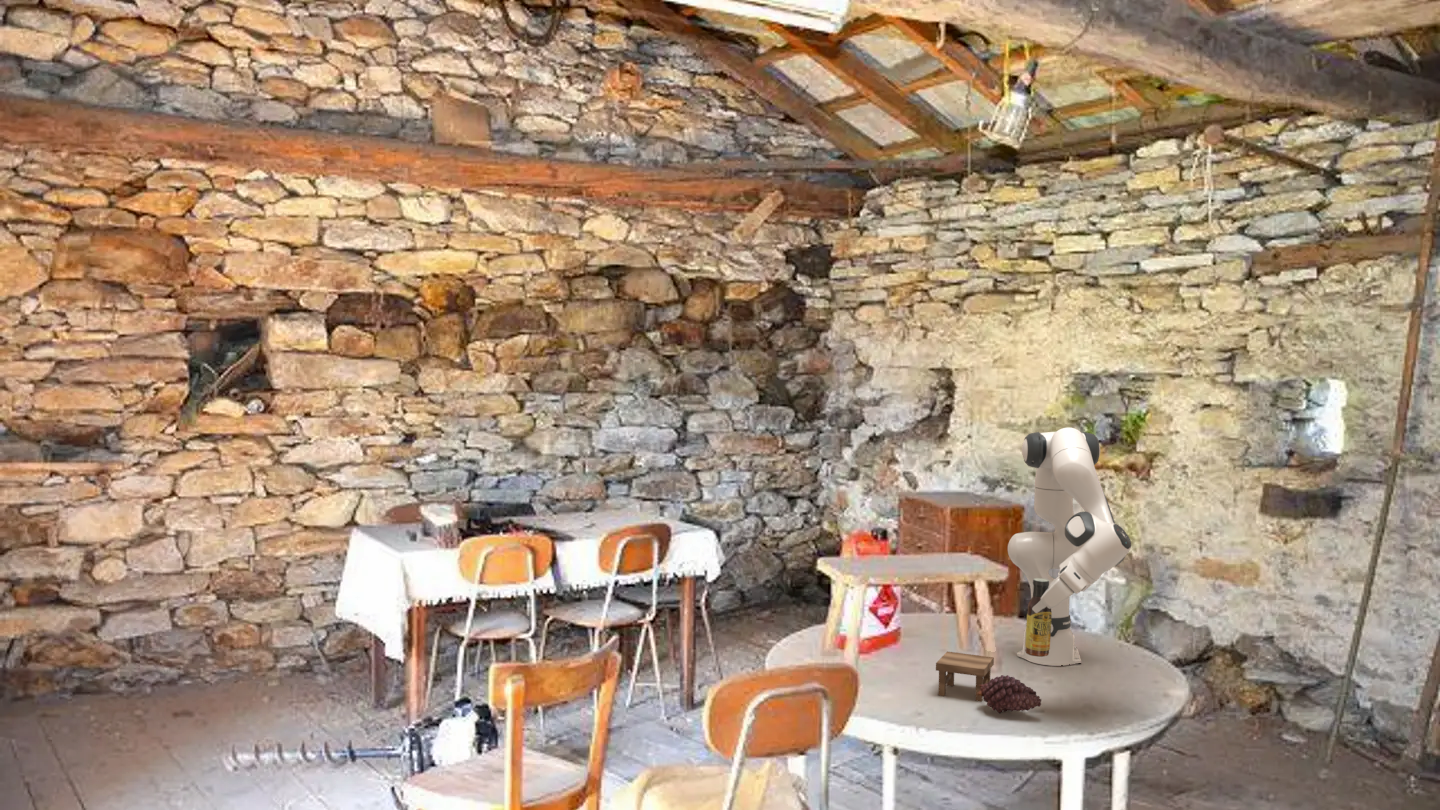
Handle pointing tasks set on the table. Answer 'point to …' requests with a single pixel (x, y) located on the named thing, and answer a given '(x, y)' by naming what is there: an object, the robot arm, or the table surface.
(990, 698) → the pine cone
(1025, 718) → the table surface
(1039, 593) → the sauce bottle
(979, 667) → the light brown wooden stool
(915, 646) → the table surface
